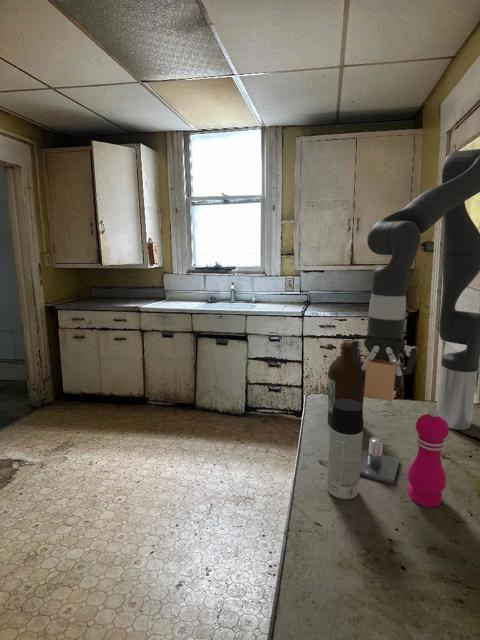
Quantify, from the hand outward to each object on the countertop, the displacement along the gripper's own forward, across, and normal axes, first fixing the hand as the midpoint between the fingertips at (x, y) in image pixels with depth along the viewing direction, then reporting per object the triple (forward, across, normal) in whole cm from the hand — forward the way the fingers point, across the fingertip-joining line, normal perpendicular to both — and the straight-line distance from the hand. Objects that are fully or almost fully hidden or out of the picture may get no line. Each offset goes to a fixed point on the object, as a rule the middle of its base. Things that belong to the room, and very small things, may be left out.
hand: (380, 387), depth 90 cm
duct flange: (+20, 0, 0) cm, 20 cm away
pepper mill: (+20, -11, +6) cm, 24 cm away
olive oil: (+20, +12, -19) cm, 30 cm away
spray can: (+21, +4, +12) cm, 24 cm away
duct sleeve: (+2, 0, 0) cm, 2 cm away
